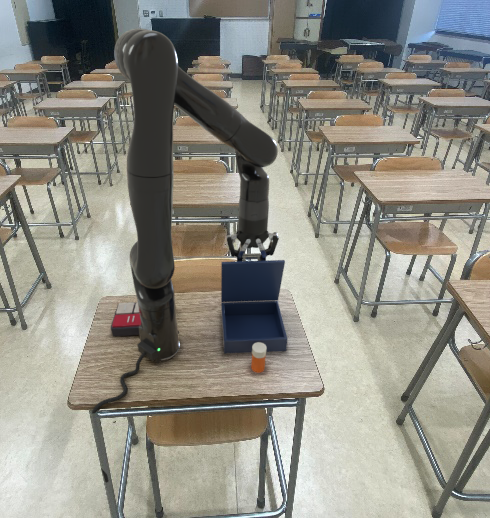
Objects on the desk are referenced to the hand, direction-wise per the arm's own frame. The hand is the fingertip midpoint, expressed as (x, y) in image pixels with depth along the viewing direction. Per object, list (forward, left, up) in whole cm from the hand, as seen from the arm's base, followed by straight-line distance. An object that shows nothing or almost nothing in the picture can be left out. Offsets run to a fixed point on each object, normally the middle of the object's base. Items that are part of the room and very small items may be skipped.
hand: (251, 266), depth 109 cm
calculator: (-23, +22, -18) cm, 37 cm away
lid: (-2, -2, -4) cm, 5 cm away
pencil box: (-6, -5, -17) cm, 19 cm away
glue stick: (-16, -14, -17) cm, 27 cm away
